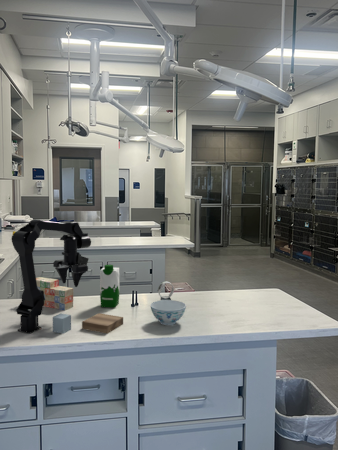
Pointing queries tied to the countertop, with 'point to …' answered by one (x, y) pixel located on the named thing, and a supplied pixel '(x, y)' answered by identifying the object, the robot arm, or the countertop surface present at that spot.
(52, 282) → the stack of blocks
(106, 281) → the milk carton
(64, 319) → the grey block
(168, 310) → the chinaware
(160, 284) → the watch
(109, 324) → the walnut base
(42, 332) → the countertop surface
